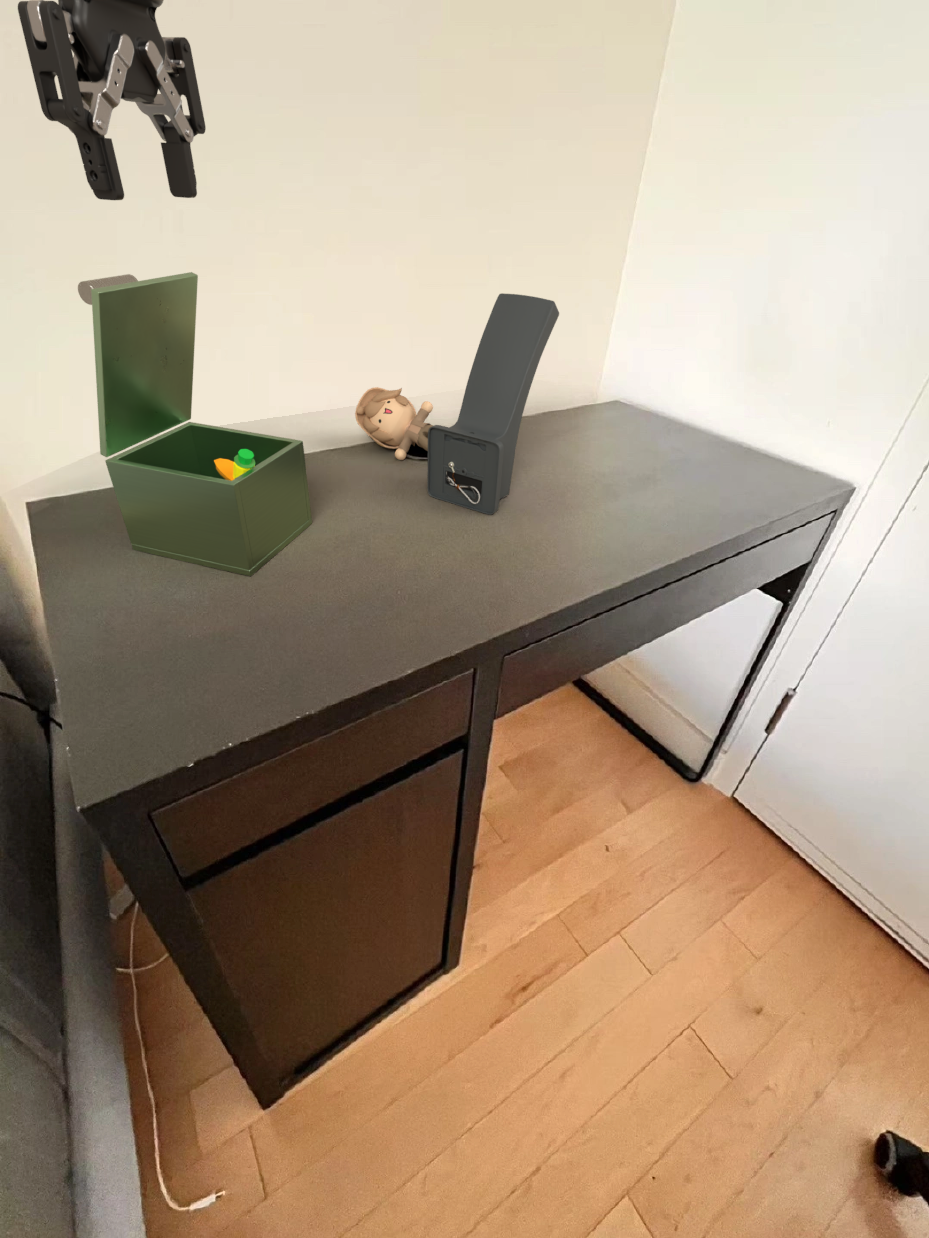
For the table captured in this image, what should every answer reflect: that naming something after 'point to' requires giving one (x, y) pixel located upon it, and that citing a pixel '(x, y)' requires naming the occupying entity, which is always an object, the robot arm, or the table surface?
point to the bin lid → (142, 355)
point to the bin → (212, 497)
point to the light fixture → (491, 407)
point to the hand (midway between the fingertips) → (149, 198)
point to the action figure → (393, 420)
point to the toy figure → (235, 465)
